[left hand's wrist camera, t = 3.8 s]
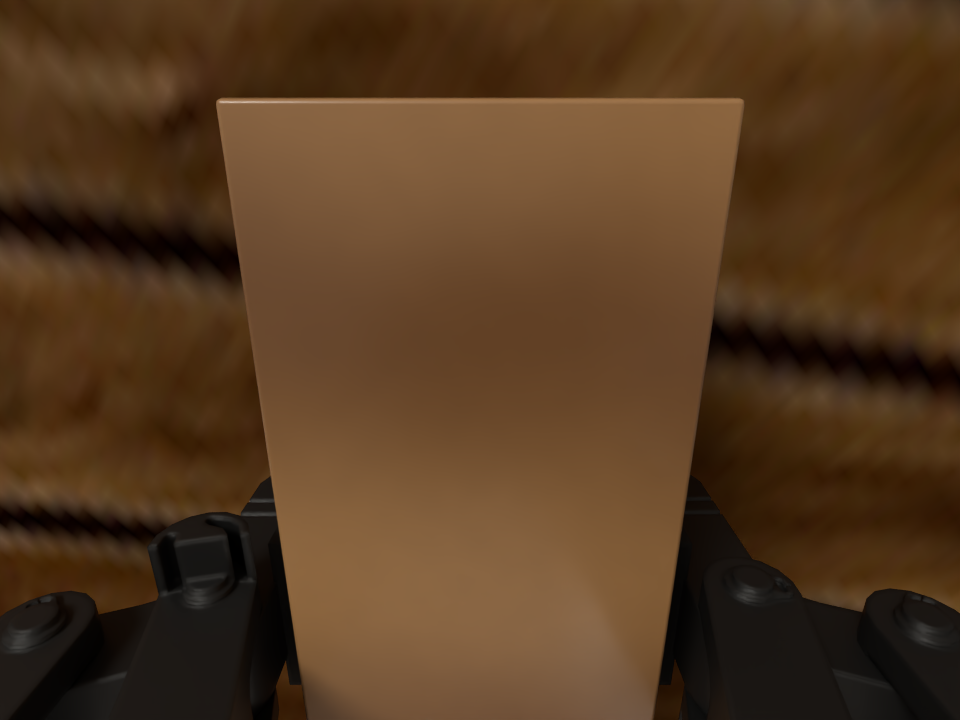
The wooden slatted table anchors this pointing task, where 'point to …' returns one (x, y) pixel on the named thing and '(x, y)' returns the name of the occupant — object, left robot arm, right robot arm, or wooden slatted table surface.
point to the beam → (480, 387)
